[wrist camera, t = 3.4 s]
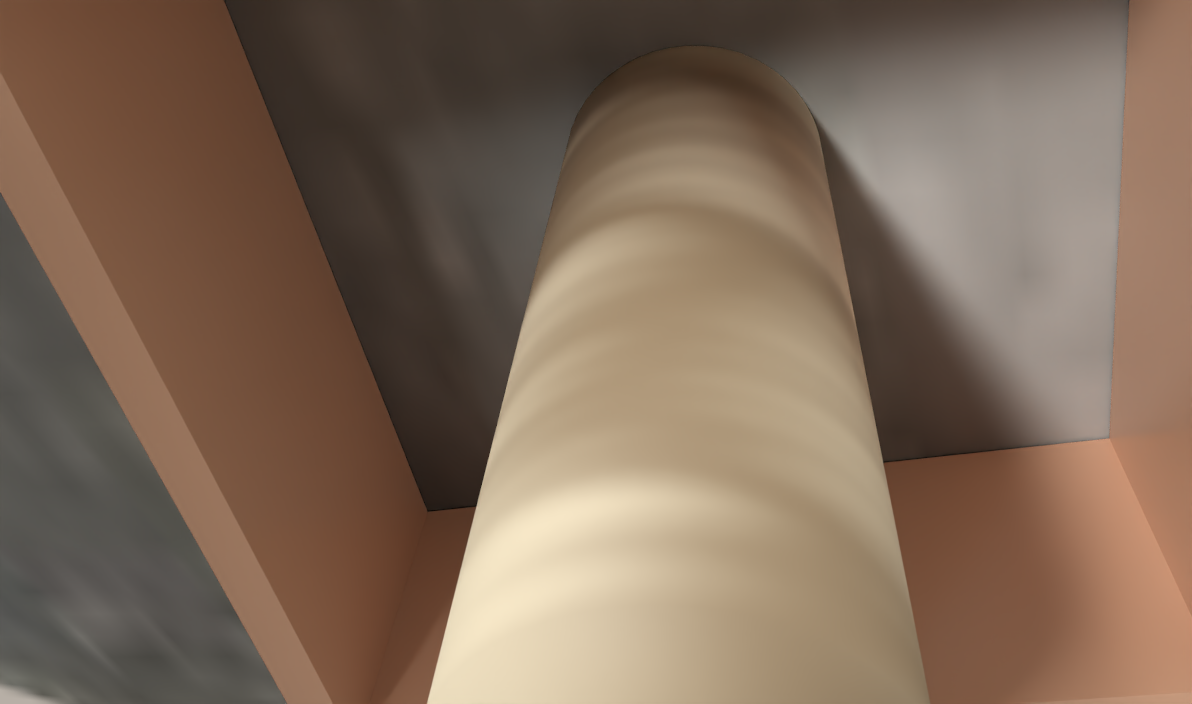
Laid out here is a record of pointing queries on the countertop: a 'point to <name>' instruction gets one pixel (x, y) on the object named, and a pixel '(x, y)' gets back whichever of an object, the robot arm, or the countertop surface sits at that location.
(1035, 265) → the countertop surface
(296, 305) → the peach storage bin
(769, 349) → the dowel pin
